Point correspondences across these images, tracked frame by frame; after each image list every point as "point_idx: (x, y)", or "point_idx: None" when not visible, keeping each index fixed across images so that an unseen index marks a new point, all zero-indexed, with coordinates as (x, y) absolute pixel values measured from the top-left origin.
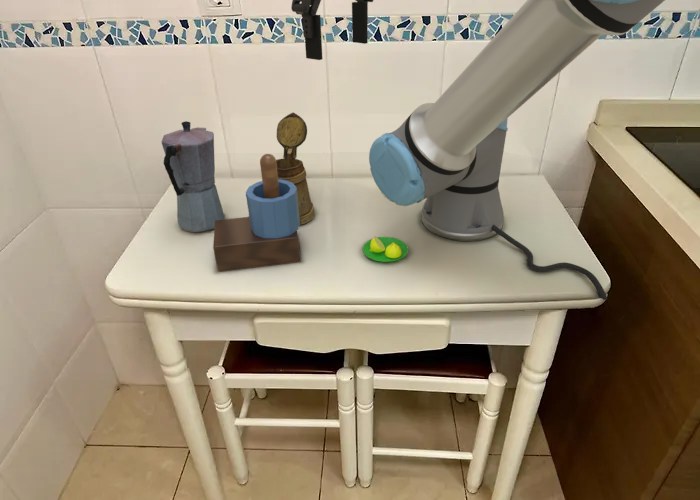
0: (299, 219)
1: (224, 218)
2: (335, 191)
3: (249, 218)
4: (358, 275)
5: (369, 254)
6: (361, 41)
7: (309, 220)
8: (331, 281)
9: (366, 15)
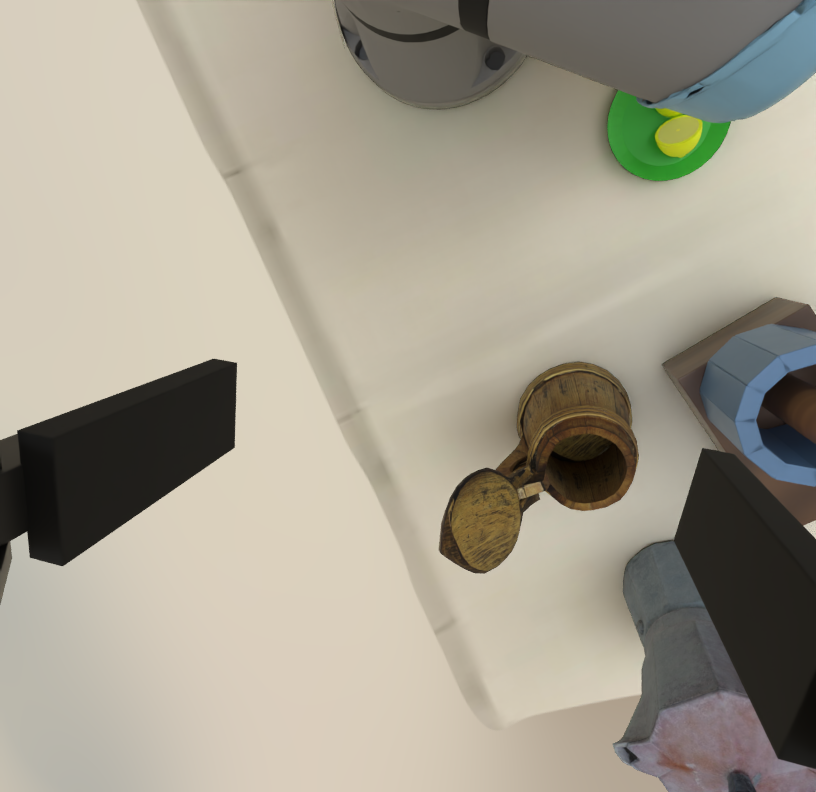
0: (741, 336)
1: (652, 546)
2: (422, 373)
3: (746, 464)
4: (794, 136)
5: (691, 154)
6: (230, 391)
7: (588, 364)
8: None
9: (110, 403)
